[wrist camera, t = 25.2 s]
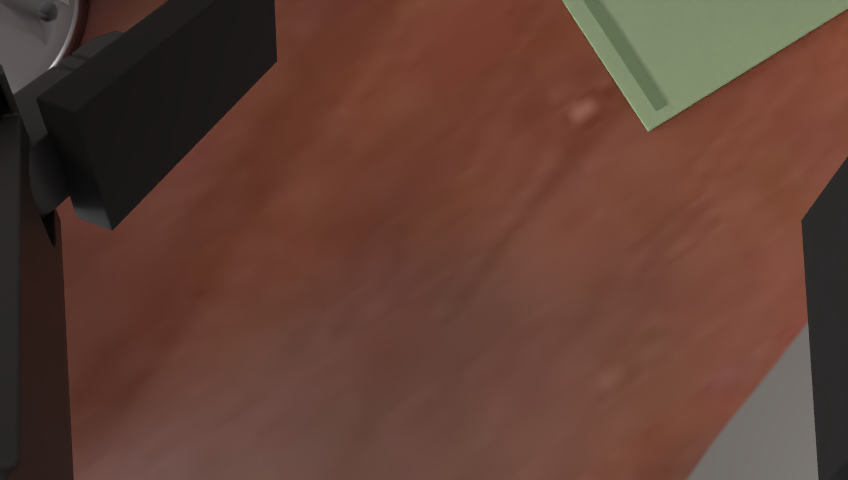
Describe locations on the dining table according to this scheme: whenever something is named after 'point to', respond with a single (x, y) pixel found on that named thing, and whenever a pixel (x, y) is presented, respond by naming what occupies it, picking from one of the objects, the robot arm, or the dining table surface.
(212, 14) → the robot arm
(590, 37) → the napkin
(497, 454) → the dining table surface
